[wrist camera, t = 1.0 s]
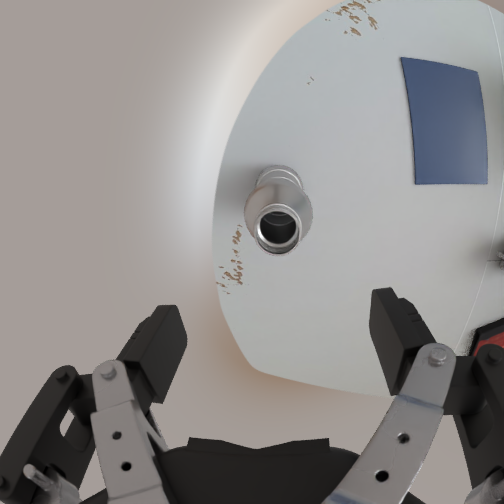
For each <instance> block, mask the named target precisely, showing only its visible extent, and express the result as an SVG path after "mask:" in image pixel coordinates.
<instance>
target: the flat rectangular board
mask: <svg viewBox="0 0 504 504" xmlns="http://www.w3.org/2000/svg"><path fill="white" fill-rule="evenodd" d="M401 61H402V66H403V71H404V76H405V82H406V87H407V93H408V100H409V107H410V115H411V123H412V133H413V145H414V161H415V184H416V185H420V184H487V181H488V158H487V136H486V124H485V114H484V106H483V99H482V93H481V87H480V81H479V76H478V72H476V71H473V70H469V69H465V68H461V67H457V66H452V65H448V64H443V63H437V62H432V61H426V60H420V59H413V58H405V57H401Z"/></svg>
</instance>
